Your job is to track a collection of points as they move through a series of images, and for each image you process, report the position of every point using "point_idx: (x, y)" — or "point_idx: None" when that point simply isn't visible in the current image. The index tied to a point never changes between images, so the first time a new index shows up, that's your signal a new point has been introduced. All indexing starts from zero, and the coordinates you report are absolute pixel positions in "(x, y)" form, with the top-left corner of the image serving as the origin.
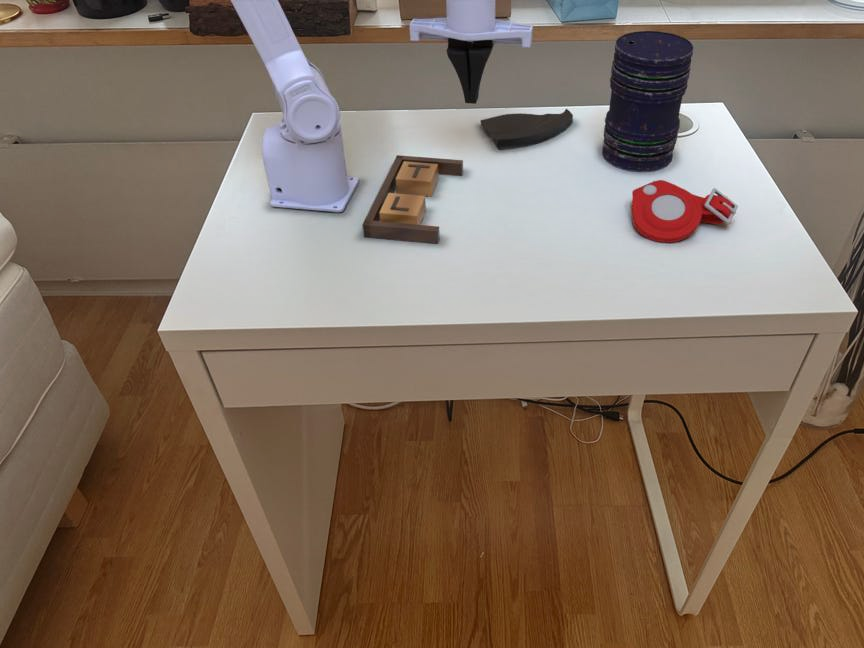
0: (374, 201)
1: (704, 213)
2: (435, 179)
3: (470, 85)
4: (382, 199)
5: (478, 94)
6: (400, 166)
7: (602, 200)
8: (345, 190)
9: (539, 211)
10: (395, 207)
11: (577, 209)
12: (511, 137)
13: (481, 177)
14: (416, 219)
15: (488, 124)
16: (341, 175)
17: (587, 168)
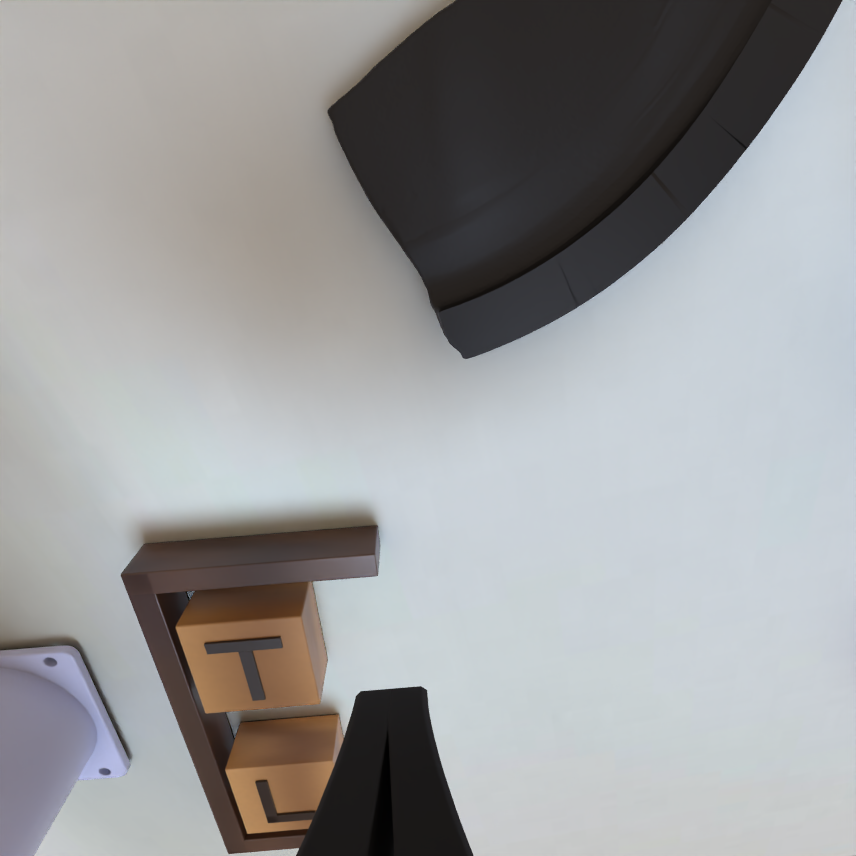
0: (204, 786)
1: None
2: (314, 630)
3: (389, 842)
4: (220, 777)
5: (427, 704)
6: (169, 611)
7: (830, 572)
8: (87, 744)
9: (641, 653)
10: (278, 818)
11: (748, 625)
12: (531, 319)
13: (446, 537)
14: None
15: (384, 160)
16: (53, 806)
17: (821, 402)
